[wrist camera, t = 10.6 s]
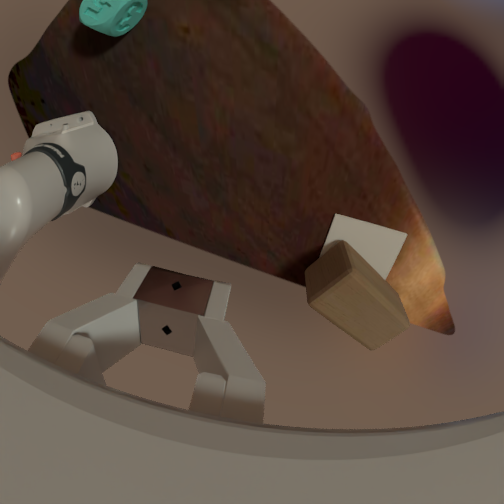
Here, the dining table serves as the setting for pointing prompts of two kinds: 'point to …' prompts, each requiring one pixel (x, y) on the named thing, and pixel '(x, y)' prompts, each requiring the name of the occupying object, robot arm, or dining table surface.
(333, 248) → the wooden block
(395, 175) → the dining table surface
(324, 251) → the mat
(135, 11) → the decorative dice
